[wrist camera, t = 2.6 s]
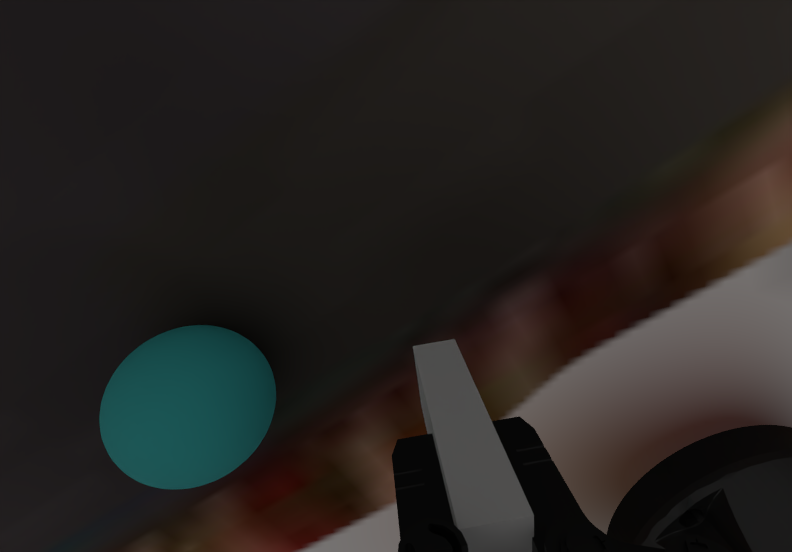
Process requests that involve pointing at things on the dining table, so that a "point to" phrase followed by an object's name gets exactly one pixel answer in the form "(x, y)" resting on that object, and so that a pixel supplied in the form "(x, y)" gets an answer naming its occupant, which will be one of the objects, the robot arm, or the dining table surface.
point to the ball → (187, 407)
